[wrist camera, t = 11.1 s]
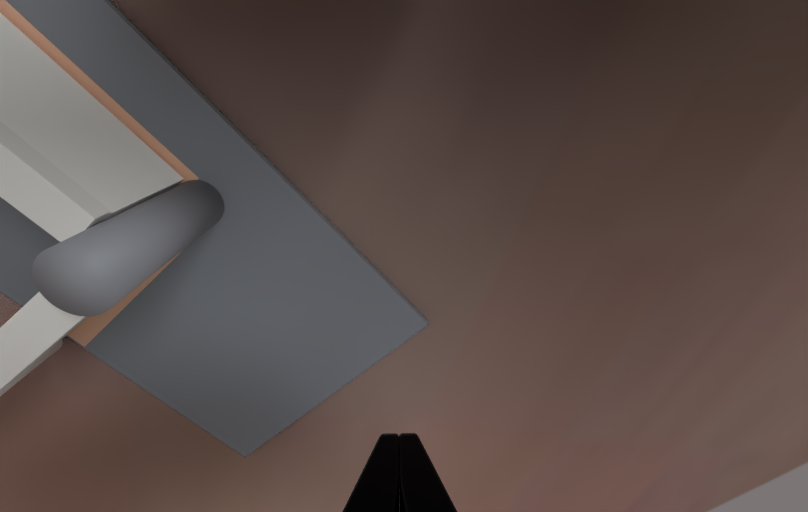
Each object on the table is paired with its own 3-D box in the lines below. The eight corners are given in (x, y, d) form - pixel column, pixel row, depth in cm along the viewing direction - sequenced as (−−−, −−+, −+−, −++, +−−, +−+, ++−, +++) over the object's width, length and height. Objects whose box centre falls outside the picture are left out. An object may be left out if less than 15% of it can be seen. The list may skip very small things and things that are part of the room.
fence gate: (161, 209, 20) (43, 275, 13) (190, 236, 20) (91, 312, 14) (21, 336, 22) (-135, 443, 16) (50, 356, 23) (-88, 468, 16)
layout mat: (-12, -120, 15) (-24, -126, 15) (428, 320, 23) (428, 325, 23) (-178, 162, 19) (-191, 164, 19) (247, 452, 27) (244, 458, 27)
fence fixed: (-47, -54, 15) (-484, -185, 8) (234, 205, 20) (132, 285, 12) (-75, -7, 16) (-506, -85, 8) (203, 235, 20) (88, 329, 13)
